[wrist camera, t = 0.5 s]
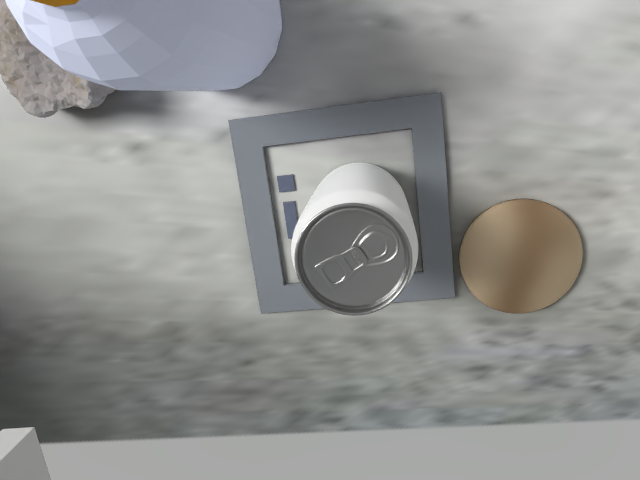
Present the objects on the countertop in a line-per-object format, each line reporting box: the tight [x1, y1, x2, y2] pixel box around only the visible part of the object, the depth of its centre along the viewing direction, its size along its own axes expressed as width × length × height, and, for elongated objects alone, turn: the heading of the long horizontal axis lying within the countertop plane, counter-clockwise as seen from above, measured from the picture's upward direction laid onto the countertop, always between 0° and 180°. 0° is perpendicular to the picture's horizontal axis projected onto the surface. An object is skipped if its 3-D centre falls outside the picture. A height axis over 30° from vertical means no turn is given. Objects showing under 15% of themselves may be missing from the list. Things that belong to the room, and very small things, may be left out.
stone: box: [0, 0, 116, 118], centre depth 33 cm, size 10×8×6 cm
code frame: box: [228, 92, 455, 314], centre depth 37 cm, size 14×14×1 cm
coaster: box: [459, 199, 583, 313], centre depth 36 cm, size 8×8×1 cm
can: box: [291, 163, 418, 315], centre depth 31 cm, size 6×6×12 cm
